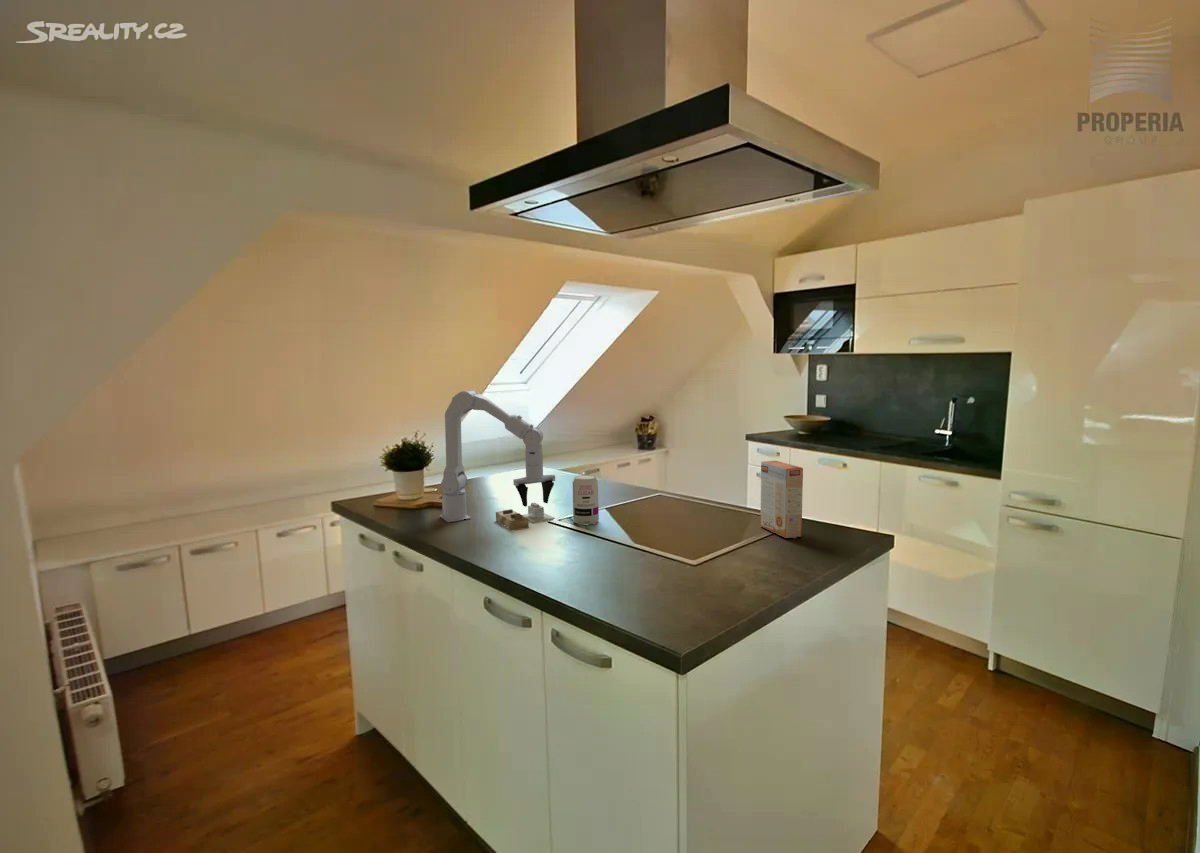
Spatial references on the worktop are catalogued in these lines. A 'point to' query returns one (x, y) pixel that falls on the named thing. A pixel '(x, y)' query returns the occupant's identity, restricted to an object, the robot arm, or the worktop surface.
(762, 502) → the cracker box
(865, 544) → the worktop surface
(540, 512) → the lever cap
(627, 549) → the worktop surface
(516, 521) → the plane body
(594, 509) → the supplement can
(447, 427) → the robot arm
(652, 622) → the worktop surface
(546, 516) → the rubber mat
